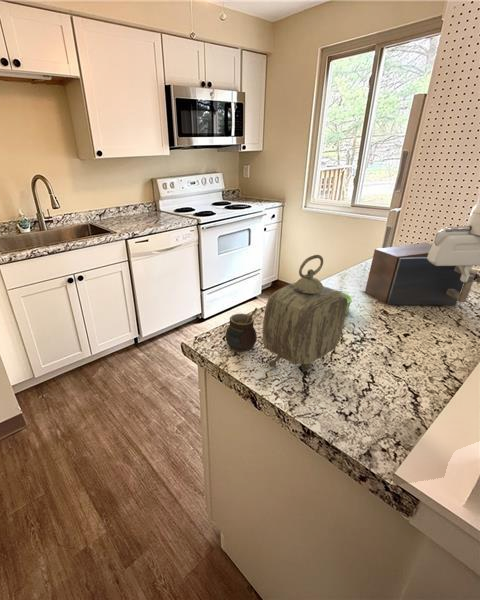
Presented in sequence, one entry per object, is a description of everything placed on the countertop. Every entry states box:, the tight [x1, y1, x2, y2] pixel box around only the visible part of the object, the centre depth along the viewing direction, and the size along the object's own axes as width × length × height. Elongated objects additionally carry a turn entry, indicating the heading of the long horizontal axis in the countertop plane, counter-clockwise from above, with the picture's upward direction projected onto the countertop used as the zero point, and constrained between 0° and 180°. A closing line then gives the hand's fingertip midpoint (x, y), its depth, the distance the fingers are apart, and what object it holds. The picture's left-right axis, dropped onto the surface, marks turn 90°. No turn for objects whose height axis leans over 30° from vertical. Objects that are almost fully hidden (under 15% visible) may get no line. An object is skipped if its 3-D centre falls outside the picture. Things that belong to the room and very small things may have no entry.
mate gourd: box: [224, 307, 259, 353], centre depth 74 cm, size 7×8×10 cm
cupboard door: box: [386, 257, 477, 306], centre depth 81 cm, size 6×16×14 cm, turn 78°
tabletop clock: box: [262, 254, 347, 370], centre depth 63 cm, size 14×9×25 cm, turn 120°
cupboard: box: [364, 242, 433, 304], centre depth 90 cm, size 8×16×14 cm, turn 96°
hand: (472, 281), depth 76 cm, fingers closed on cupboard door
